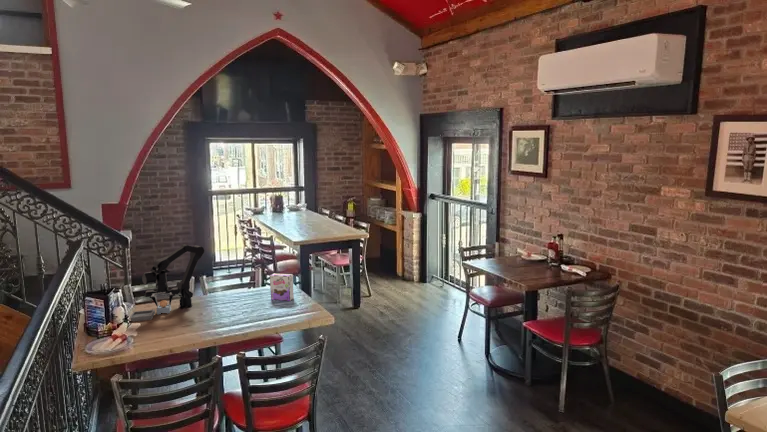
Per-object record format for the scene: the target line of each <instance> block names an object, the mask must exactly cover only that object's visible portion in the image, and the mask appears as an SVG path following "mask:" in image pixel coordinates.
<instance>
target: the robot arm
mask: <svg viewBox="0 0 767 432" xmlns="http://www.w3.org/2000/svg"><path fill="white" fill-rule="evenodd" d="M187 252H189V260H188V261H189V262H188V263H187V266H186V269H185V271H184V273H183V277H182V279H181V281H177V282H176V285H175V286H174V287H172V288H171V289H169V284H168V281H167V274H168V273H170V271H169V270H168V269H167V268H168V267H169V266H170V265H171V263H172V262H174V261H176V260H177V259H179V258H180V257H181V256H182V255H184V254H185V253H187ZM204 253H205V249H204V247H203V246H200V245H193V246H192V245H188V244H182V245H181V246H179V247H178V248H177V249H176V250H173V251H172V252H171V253H170V254H168V255H166V256H165V257H162V258H161V257H160V258H159V259H157V260H155V261H154V262H153V266H152V268H151V269H150V271H148V272H143V275H142V277H141V280H142V283H143V284H144V285H150V284H154V283H155V289H156V290H154V289H146V291H145V293H144V296H145V298H150V299H151V300H152V301H153V302H154V303H155V306H156V308H157V307H158V305H159V303H158V298H157V295H164V294H169V296H168V297H169V298H168V299H169V300H168V301H169V302H168V303H169V305H171V306H172V302H173V301H172V300H173V297H174V296H175V295H178V297H179V306H180V309H182V308H183V309H184V308H192V306H193V301H192V300H193V299H192V298H193V296H194V292H192V291H190V290H191V289H190V288H191V285H190V283H191V280H192V278H193V275H194V271H195V269H196V267H197V264H198V261H199V260H200V259H201V258H202V257H203V256H204Z"/></svg>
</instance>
